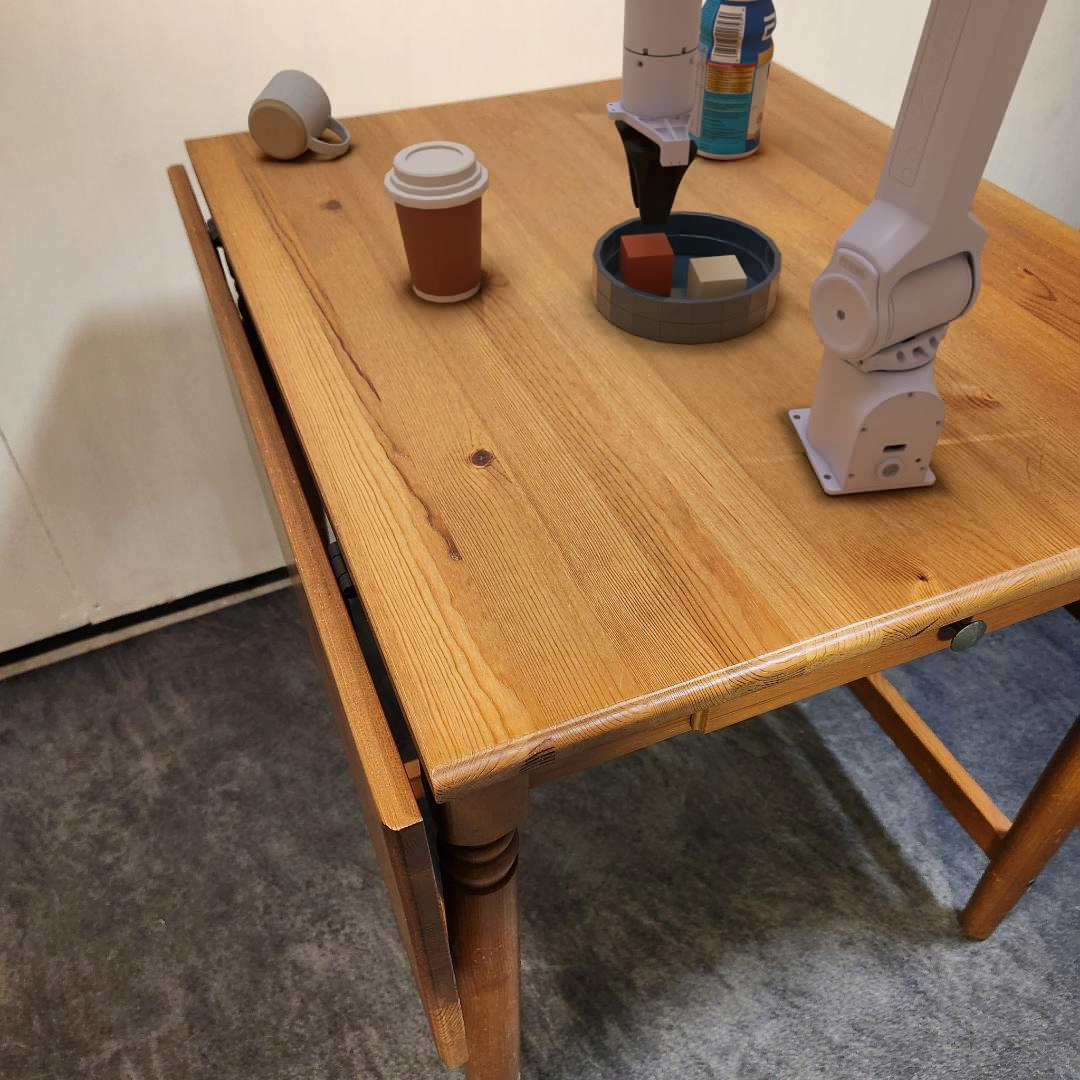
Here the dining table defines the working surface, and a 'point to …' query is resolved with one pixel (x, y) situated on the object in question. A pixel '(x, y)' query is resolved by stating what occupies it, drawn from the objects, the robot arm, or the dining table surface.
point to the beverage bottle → (732, 76)
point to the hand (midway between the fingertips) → (650, 214)
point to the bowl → (674, 312)
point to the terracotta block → (646, 263)
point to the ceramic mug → (294, 117)
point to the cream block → (714, 277)
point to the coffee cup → (440, 217)
